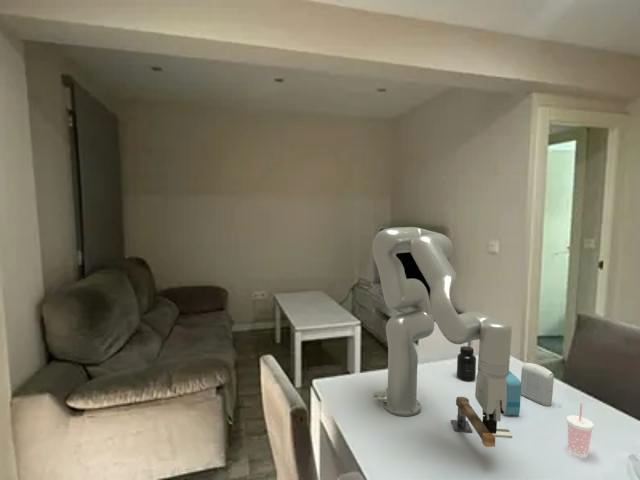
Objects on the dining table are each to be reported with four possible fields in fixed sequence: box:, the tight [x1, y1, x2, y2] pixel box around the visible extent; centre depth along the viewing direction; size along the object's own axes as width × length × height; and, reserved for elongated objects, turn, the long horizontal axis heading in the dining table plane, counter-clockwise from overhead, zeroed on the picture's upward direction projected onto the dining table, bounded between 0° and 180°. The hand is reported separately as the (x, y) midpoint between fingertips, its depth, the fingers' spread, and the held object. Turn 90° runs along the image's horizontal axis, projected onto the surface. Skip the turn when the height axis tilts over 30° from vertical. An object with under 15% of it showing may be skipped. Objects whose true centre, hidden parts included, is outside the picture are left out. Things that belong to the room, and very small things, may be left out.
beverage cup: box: [566, 403, 595, 459], centre depth 105 cm, size 6×6×14 cm
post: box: [450, 406, 473, 434], centre depth 117 cm, size 5×5×7 cm
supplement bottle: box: [456, 345, 477, 382], centre depth 150 cm, size 7×7×12 cm
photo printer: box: [520, 362, 555, 407], centre depth 134 cm, size 10×4×12 cm, turn 31°
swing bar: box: [455, 396, 496, 448], centre depth 108 cm, size 21×4×2 cm, turn 0°
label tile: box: [493, 425, 513, 439], centre depth 115 cm, size 7×5×1 cm
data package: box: [503, 370, 522, 416], centre depth 128 cm, size 12×4×12 cm, turn 0°
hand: (489, 431), depth 104 cm, fingers closed
